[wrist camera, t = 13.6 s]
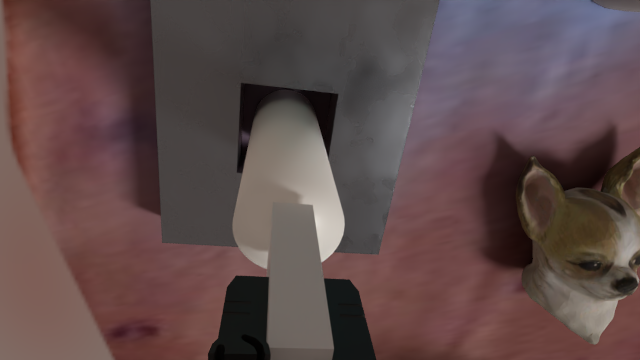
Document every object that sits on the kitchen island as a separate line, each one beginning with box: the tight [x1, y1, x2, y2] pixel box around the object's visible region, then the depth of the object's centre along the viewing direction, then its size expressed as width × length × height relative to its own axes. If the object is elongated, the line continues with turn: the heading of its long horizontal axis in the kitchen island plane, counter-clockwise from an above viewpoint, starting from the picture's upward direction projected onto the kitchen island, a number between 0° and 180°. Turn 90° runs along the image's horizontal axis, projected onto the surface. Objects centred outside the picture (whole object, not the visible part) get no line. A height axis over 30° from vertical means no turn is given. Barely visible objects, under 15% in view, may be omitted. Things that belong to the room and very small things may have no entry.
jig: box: [150, 0, 440, 254], centre depth 27 cm, size 18×16×3 cm
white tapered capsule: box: [232, 90, 345, 269], centre depth 22 cm, size 4×4×14 cm
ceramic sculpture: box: [516, 147, 640, 344], centre depth 30 cm, size 11×9×15 cm
